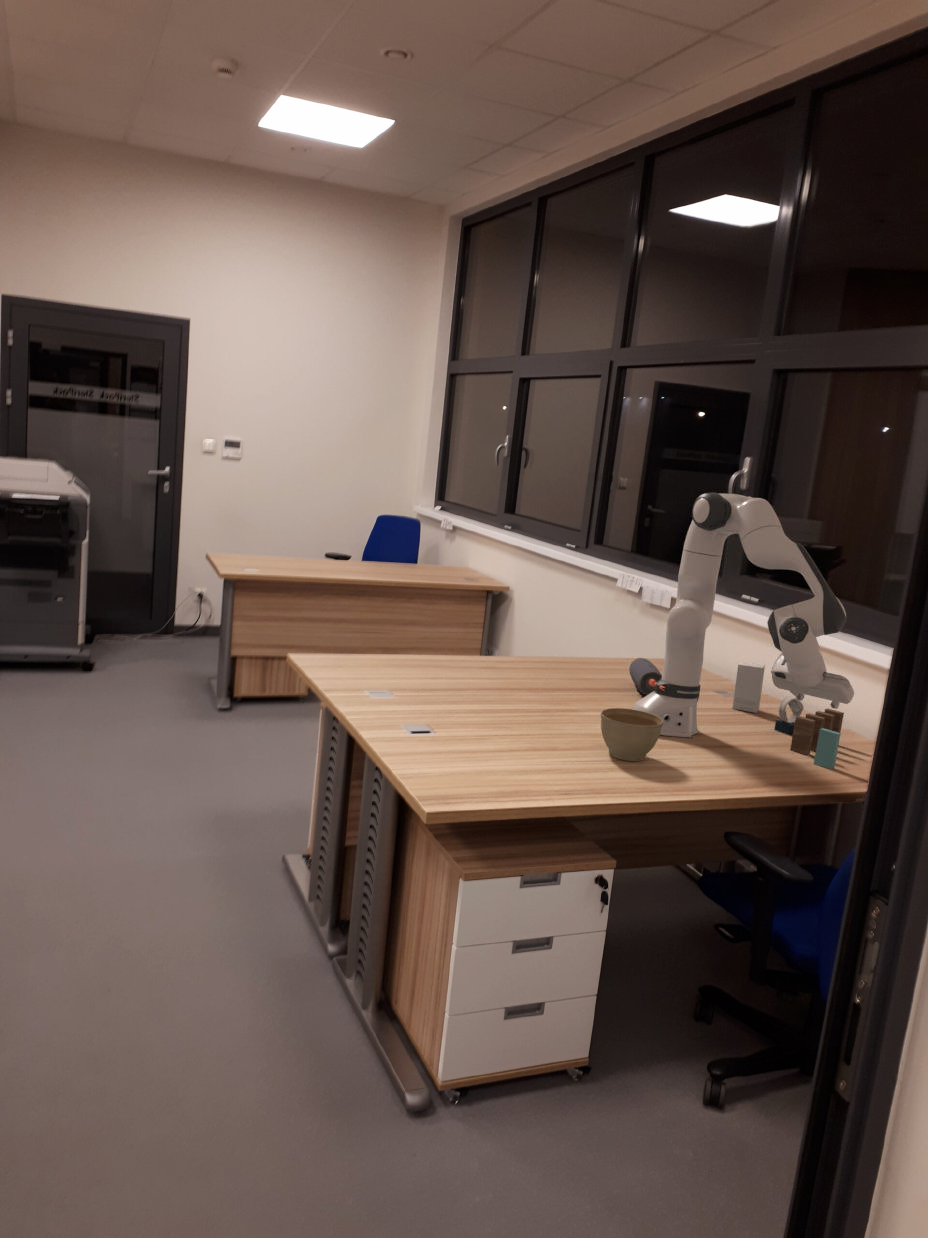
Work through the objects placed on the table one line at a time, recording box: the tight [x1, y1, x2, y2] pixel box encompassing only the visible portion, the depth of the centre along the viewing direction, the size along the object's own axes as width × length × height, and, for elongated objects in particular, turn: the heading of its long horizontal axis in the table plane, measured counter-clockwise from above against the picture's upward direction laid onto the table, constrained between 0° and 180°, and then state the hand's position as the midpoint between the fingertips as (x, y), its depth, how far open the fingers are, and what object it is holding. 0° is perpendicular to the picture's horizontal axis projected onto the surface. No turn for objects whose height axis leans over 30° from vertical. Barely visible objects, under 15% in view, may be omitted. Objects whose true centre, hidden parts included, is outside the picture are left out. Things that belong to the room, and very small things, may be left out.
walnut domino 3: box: [814, 710, 835, 731], centre depth 280 cm, size 2×5×10 cm, turn 45°
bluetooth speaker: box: [628, 657, 662, 696], centre depth 326 cm, size 23×9×10 cm, turn 179°
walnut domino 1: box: [789, 715, 816, 756], centre depth 271 cm, size 2×5×10 cm, turn 45°
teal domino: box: [813, 728, 841, 770], centre depth 259 cm, size 2×5×10 cm, turn 45°
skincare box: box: [731, 661, 766, 714], centre depth 316 cm, size 8×7×16 cm
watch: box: [773, 696, 804, 736], centre depth 292 cm, size 6×8×11 cm
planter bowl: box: [600, 707, 663, 762], centre depth 248 cm, size 16×16×11 cm
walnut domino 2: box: [805, 712, 825, 753], centre depth 275 cm, size 2×5×10 cm, turn 45°
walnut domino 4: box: [824, 708, 845, 733], centre depth 285 cm, size 2×5×10 cm, turn 45°
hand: (818, 702), depth 248 cm, fingers open, 8 cm apart
